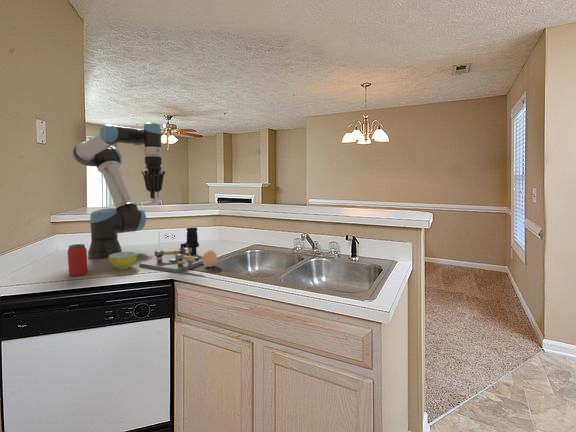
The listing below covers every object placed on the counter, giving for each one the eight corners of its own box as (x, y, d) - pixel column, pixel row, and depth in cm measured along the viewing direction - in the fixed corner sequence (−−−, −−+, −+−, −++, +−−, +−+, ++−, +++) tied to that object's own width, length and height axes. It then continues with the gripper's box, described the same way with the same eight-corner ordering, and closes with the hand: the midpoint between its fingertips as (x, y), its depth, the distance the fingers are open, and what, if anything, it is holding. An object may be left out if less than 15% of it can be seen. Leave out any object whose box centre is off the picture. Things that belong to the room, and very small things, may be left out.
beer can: (91, 272, 142) (89, 243, 140) (82, 276, 135) (80, 247, 134) (75, 271, 141) (73, 243, 140) (65, 276, 135) (63, 247, 133)
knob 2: (173, 265, 147) (173, 255, 146) (179, 263, 150) (179, 253, 150) (196, 269, 142) (195, 258, 141) (202, 266, 145) (201, 256, 145)
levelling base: (139, 266, 151) (139, 261, 151) (171, 257, 169) (171, 252, 169) (177, 272, 142) (177, 267, 142) (207, 262, 160) (207, 257, 160)
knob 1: (183, 257, 162) (183, 247, 162) (192, 256, 163) (192, 247, 163) (182, 263, 151) (182, 253, 150) (191, 262, 152) (191, 252, 151)
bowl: (106, 272, 141) (105, 258, 140) (112, 265, 152) (111, 252, 151) (135, 271, 144) (134, 256, 143) (139, 264, 155) (138, 251, 154)
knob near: (154, 262, 151) (154, 252, 151) (154, 260, 155) (154, 250, 154) (183, 260, 155) (182, 250, 155) (182, 258, 159) (182, 248, 159)
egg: (220, 267, 152) (219, 249, 151) (206, 269, 148) (206, 252, 147) (212, 264, 157) (212, 247, 156) (199, 266, 153) (199, 249, 152)
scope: (187, 226, 181) (203, 227, 177) (188, 251, 182) (203, 253, 178) (177, 228, 173) (193, 229, 169) (178, 254, 175) (193, 256, 171)
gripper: (148, 155, 155) (150, 206, 157) (169, 157, 167) (170, 204, 169) (136, 155, 158) (138, 205, 160) (157, 157, 170) (158, 203, 172)
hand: (154, 204), depth 165 cm, fingers closed
